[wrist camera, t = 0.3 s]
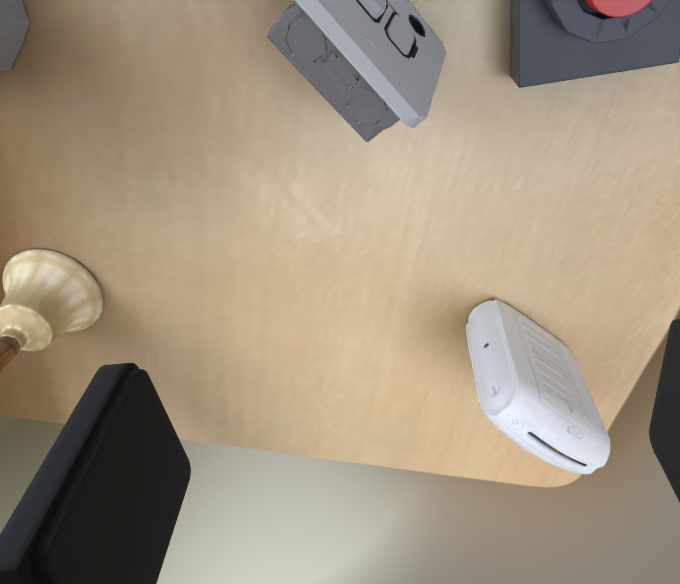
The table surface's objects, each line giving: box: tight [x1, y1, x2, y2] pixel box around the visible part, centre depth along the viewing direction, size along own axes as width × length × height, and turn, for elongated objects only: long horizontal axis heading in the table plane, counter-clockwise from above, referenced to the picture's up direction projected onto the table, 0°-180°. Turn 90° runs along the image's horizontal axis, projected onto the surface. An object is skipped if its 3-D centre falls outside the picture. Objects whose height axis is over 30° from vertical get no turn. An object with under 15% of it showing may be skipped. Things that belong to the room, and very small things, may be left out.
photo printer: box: [466, 299, 610, 474], centre depth 43 cm, size 10×4×12 cm, turn 54°
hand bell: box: [0, 249, 104, 372], centre depth 41 cm, size 8×8×16 cm
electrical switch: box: [267, 0, 446, 142], centre depth 31 cm, size 9×5×9 cm, turn 44°
